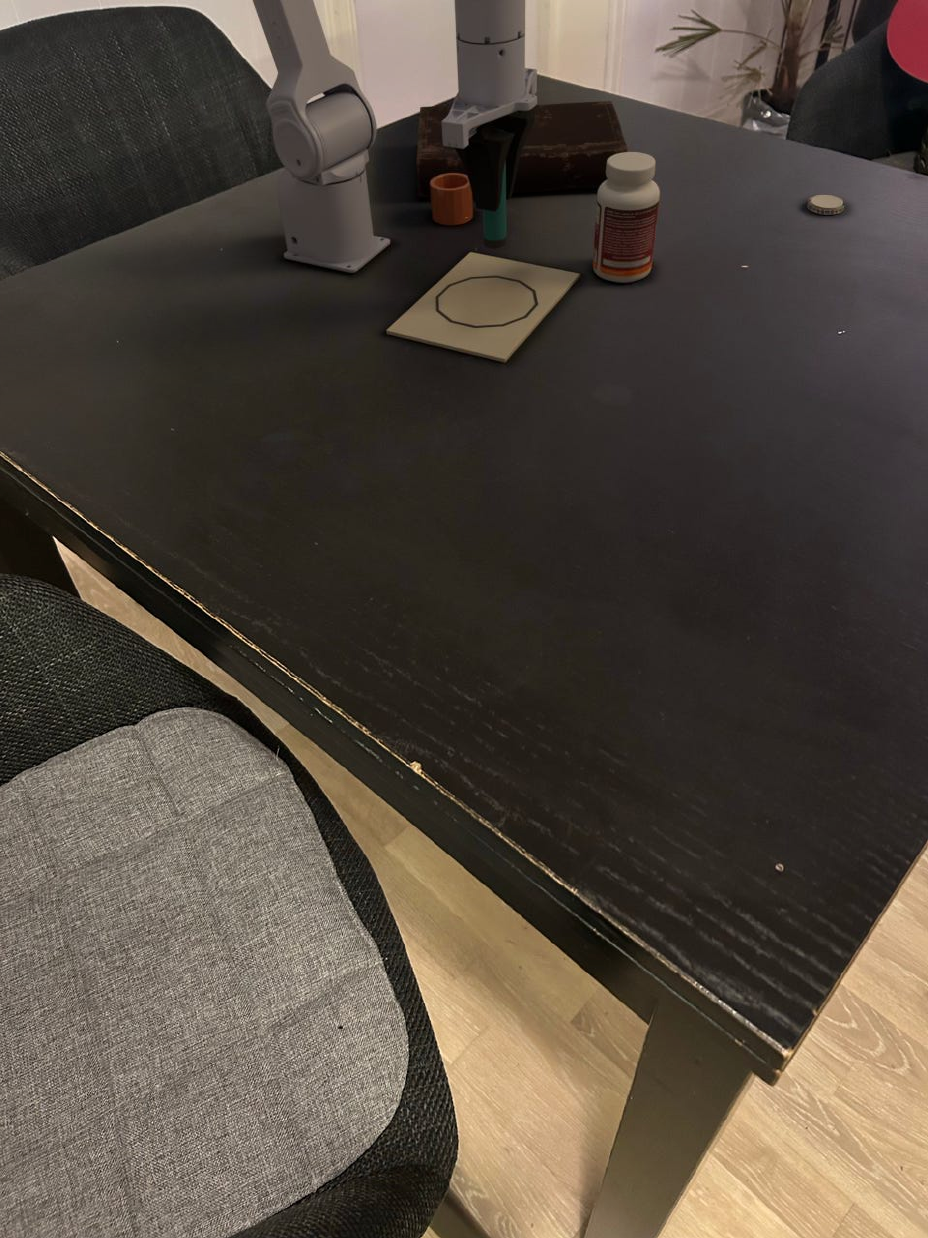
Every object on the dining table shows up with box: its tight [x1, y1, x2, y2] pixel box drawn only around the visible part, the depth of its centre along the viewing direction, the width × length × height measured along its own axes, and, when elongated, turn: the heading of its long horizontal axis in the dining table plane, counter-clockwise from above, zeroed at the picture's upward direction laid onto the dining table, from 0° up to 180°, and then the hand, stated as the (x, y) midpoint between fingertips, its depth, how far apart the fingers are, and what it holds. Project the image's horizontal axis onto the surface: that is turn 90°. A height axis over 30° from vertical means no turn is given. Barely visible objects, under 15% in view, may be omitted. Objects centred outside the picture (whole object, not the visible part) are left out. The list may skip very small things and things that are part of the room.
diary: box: [415, 100, 629, 198], centre depth 111 cm, size 19×25×5 cm
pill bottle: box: [592, 151, 661, 284], centre depth 89 cm, size 6×6×11 cm
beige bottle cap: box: [806, 194, 846, 215], centre depth 100 cm, size 4×4×1 cm
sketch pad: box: [386, 251, 581, 364], centre depth 89 cm, size 13×18×1 cm
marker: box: [482, 129, 507, 250], centre depth 81 cm, size 2×2×10 cm
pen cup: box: [430, 173, 474, 226], centre depth 102 cm, size 5×5×4 cm
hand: (493, 202), depth 82 cm, fingers closed on marker, 2 cm apart
